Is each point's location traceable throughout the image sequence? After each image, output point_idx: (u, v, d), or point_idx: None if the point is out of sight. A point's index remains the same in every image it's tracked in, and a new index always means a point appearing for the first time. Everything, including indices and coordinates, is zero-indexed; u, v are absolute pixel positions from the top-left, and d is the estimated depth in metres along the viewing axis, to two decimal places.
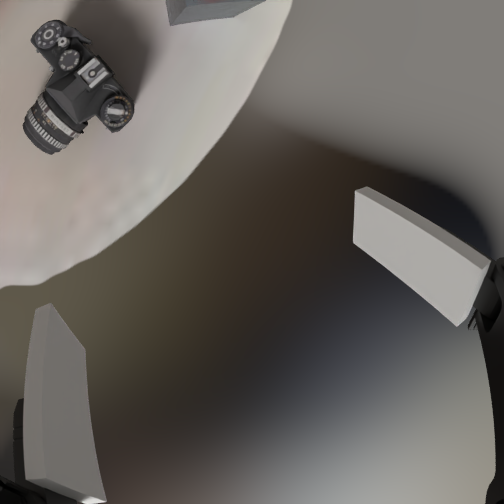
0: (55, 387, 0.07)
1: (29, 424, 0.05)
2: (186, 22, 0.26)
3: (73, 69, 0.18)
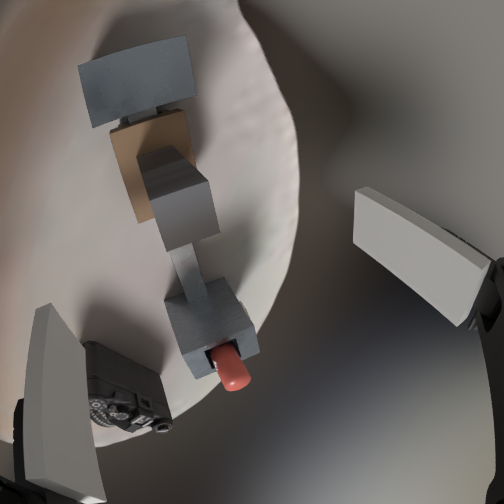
0: (55, 387, 0.07)
1: (29, 424, 0.05)
2: None
3: None
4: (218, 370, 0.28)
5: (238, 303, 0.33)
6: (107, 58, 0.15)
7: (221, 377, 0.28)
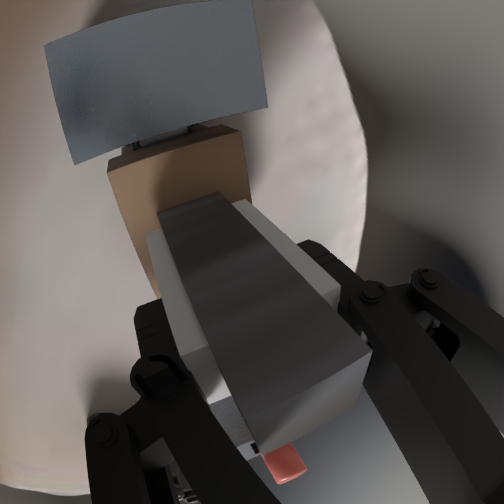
0: None
1: (174, 309, 0.08)
2: None
3: None
4: (268, 464, 0.20)
5: None
6: (101, 29, 0.07)
7: (273, 473, 0.19)
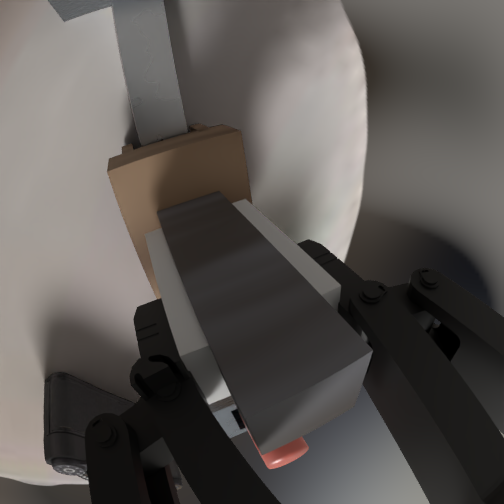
0: None
1: (174, 309, 0.08)
2: None
3: None
4: None
5: None
6: None
7: None
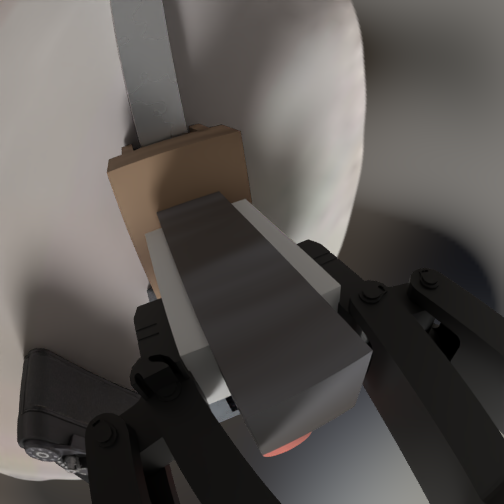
0: None
1: (174, 309, 0.08)
2: None
3: None
4: None
5: None
6: None
7: None
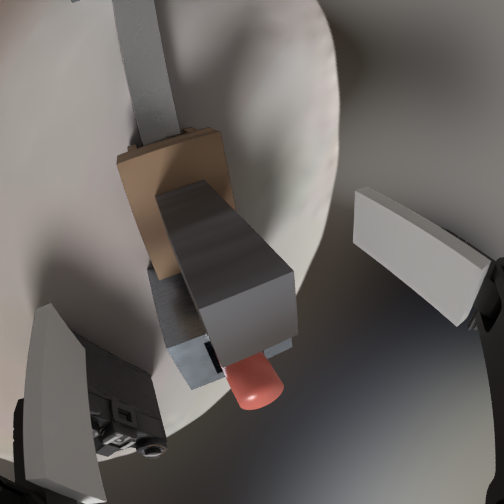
0: (55, 387, 0.07)
1: (29, 424, 0.05)
2: None
3: None
4: (228, 375, 0.17)
5: None
6: None
7: (233, 387, 0.16)
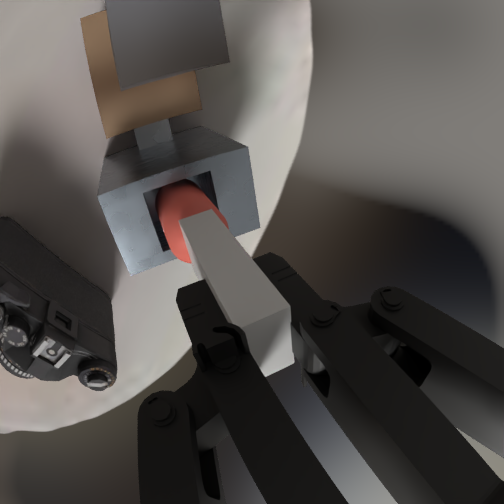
0: None
1: (223, 287, 0.08)
2: None
3: None
4: (162, 216, 0.14)
5: (221, 136, 0.18)
6: None
7: (165, 225, 0.13)
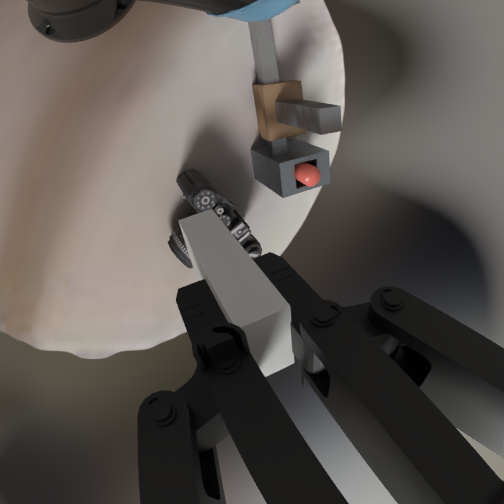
0: None
1: (223, 287, 0.08)
2: None
3: None
4: (296, 170, 0.39)
5: (312, 145, 0.42)
6: None
7: (300, 172, 0.38)
